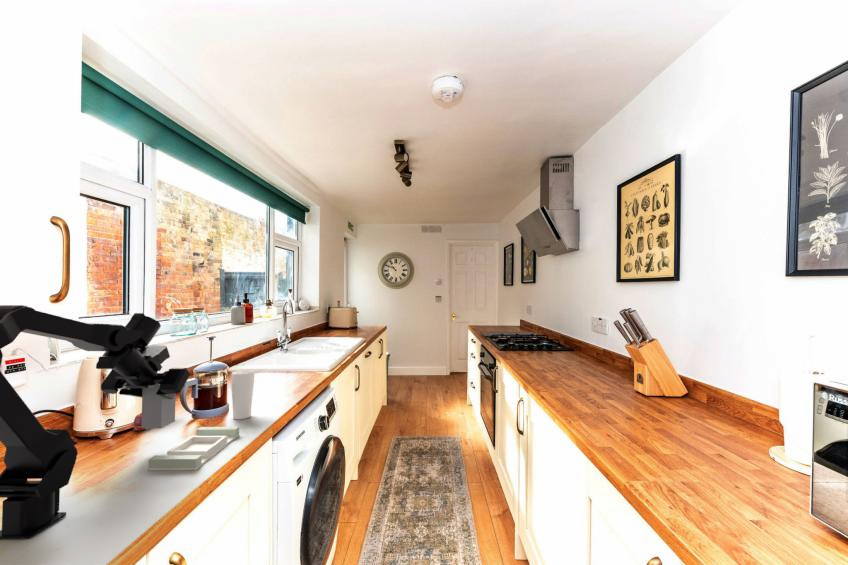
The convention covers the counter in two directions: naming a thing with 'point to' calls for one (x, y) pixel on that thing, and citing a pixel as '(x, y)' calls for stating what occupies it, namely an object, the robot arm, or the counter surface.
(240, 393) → the drinking glass
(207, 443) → the tray
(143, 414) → the tall grey pillar block
